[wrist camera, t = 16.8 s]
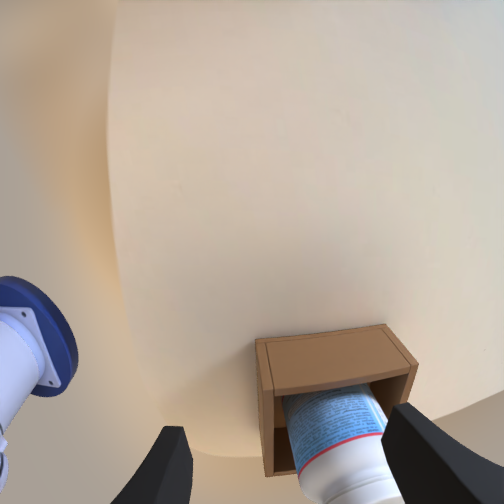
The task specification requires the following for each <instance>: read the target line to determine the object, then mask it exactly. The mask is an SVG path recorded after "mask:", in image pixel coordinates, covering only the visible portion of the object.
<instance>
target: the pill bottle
mask: <svg viewBox="0 0 504 504" xmlns="http://www.w3.org/2000/svg"><path fill="white" fill-rule="evenodd" d="M281 403H282V408H283V413H284V417H285V421H286V426H287V430H288V435H289V439H290V444H291V448H292V453H293V458H294V462H295V466H296V471H297V475H298V479H299V484H300V487H301V490H302V492H303V494H304V495H305V496H306V497H307V498H308V499H309V500H311V501H313V502H315V503H318V504H405V502H404V500H403V498H402V496H401V493H400V491H399V489H398V487H397V484H396V482H395V480H394V478H393V475H392V473H391V471H390V469H389V466H388V464H387V461H386V458H385V454H384V451H383V447H382V444H381V438H382V435H383V433H384V430H385V427H386V425H387V422H388V420H387V418H386V416H385V414H384V413H383V411H382V409H381V407H380V405H379V404H378V402H377V400H376V398H375V397H374V395H373V393H372V391H371V390H370V388H369V386H368V384H367V383H362V384H357V385H352V386H346V387H341V388H335V389H328V390H322V391H315V392H308V393H300V394H292V395H283V396H281Z"/></svg>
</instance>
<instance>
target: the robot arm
mask: <svg viewBox="0 0 504 504" xmlns="http://www.w3.org/2000/svg"><path fill="white" fill-rule="evenodd" d="M24 313H25V314H26V315H25V314H24ZM36 384H38V385H44V386H50V387H57V388H58V387H60V385H61V381H60V379H59V377H58V375H57V372H56V370H55V368H54V365H53V363H52V361H51V358H50V356H49V353H48V350H47V348H46V345H45V343H44V340H43V337H42V334H41V332H40V329H39V326H38V323H37V320H36V317H35V314H34V311H33V310H32V309H31V308H29V307H1V306H0V493H1V492H2V490H3V488H4V486H5V484H6V481H7V477H8V460H7V457H6V455H5V454H4V453H3V451H4V449H5V448H6V446H7V444H8V443H7V441H6V440H5V439H4V437H3V434H4V432H5V431H6V429H7V428H8V426H9V424H10V423H11V421H12V420H13V418H14V417H15V415H16V414H17V412H18V410H19V409H20V407H21V406H22V404H23V403H24V401H25V400H26V399H27V397H28V396H29V394H30V393H31V391H32V390H33V388H34V387H35V385H36ZM381 444H382V447H383V451H384V454H385V458H386V461H387V464H388V466H389V469H390V471H391V473H392V475H393V478H394V480H395V482H396V484H397V487H398V489H399V491H400V493H401V496H402V498H403V500H404V502H405V504H504V467H502V466H500V465H497V464H495V463H493V462H491V461H489V460H487V459H485V458H483V457H481V456H479V455H478V454H476V453H474V452H473V451H471V450H470V449H468V448H466V447H465V446H463V445H462V444H460V443H459V442H458V441H456V440H455V439H453V438H452V437H451V436H449V435H448V434H447V433H445V432H444V431H443V430H441V429H440V428H439V427H437V426H436V425H435V424H434V423H432V422H431V421H430V420H429V419H428V418H427V417H425V416H424V415H423V414H422V413H421V412H419V411H418V410H417V409H416V408H415V407H413V406H412V405H411V404H410V403H408V402H406V403H402V404H398V405H394V406H393V408H392V411H391V414H390V416H389V419H388V422H387V425H386V427H385V430H384V433H383V435H382V438H381ZM192 477H193V458H192V454H191V452H190V448H189V445H188V442H187V438H186V435H185V431H184V428H183V427H181V426H165V427H163V429H162V430H161V432H160V434H159V436H158V438H157V439H156V441H155V443H154V445H153V446H152V448H151V450H150V451H149V453H148V454H147V456H146V458H145V459H144V461H143V462H142V464H141V465H140V467H139V468H138V469H137V471H136V472H135V474H134V475H133V477H132V478H131V479H130V481H129V482H128V483H127V484H126V486H125V487H124V488H123V489H122V491H121V492H120V493H119V494H118V495H117V497H116V498H115V499H114V500H113V501H112V502H111V503H110V504H189V501H190V495H191V489H192Z"/></svg>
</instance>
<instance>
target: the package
mask: <svg viewBox="0 0 504 504" xmlns="http://www.w3.org/2000/svg"><path fill="white" fill-rule="evenodd" d="M255 349H256V369H257V389H258V409H259V429H260V438H261V446H262V454H263V463H264V471H265V477H273V476H282V475H290V474H297V471H296V466H295V462H294V458H293V453H292V448H291V444H290V439H289V435H288V430H287V426H286V421H285V417H284V413H283V408H282V403H281V396H283V395H292V394H300V393H308V392H315V391H322V390H328V389H335V388H341V387H346V386H352V385H357V384H362V383H367V384H368V386H369V388H370V390H371V391H372V393H373V395H374V397H375V398H376V400H377V402H378V404H379V405H380V407H381V409H382V411H383V413H384V414H385V416H386V418H387V420H388V419H389V416H390V414H391V411H392V408H393V406H394V405H398V404H402V403H406V402H407V400H408V397H409V394H410V391H411V388H412V385H413V382H414V379H415V376H416V372H417V369H418V365H419V363H418V362H417V360H416V359H415V358H414V357H413V356H412V354H411V353H410V352H409V351H408V350H407V348H406V347H405V346H404V345H403V344H402V343H401V341H400V340H399V339H398V338H397V337H396V335H395V334H394V333H393V332H392V331H391V330H390V328H389V327H388V326H387V325H386V324H382V325H375V326H369V327H362V328H355V329H348V330H341V331H333V332H325V333H316V334H308V335H298V336H288V337H277V338H266V339H255Z"/></svg>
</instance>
